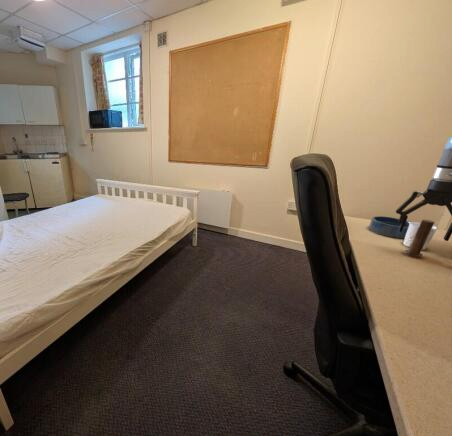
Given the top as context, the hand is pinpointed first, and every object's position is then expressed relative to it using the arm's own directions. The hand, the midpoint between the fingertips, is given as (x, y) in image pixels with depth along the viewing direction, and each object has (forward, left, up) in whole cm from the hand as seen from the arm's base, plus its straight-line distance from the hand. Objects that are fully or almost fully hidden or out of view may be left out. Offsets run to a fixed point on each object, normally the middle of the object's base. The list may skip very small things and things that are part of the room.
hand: (421, 235), depth 87 cm
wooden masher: (0, 0, -9) cm, 9 cm away
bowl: (+7, -25, -9) cm, 28 cm away
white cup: (-1, -12, -9) cm, 15 cm away
